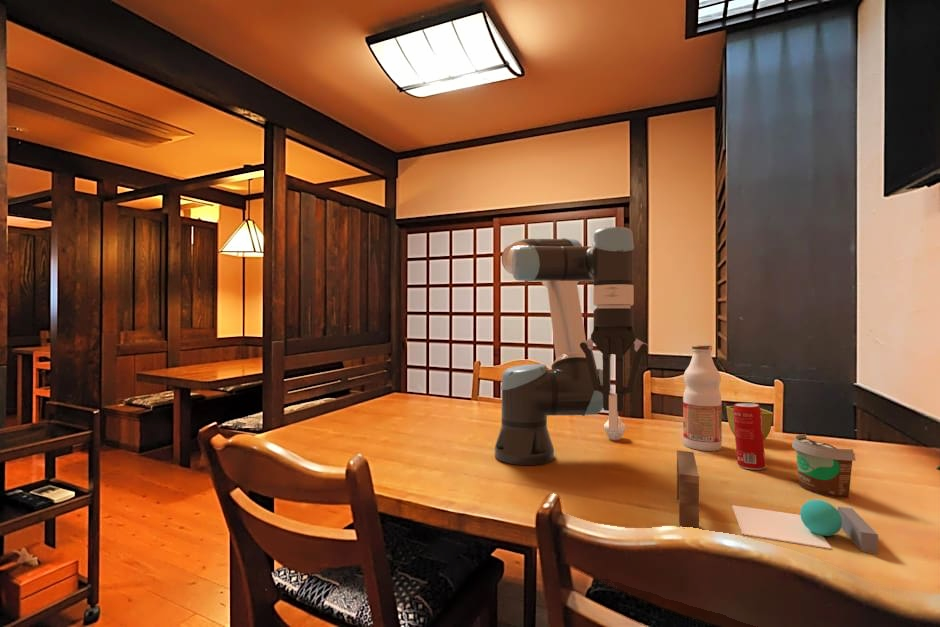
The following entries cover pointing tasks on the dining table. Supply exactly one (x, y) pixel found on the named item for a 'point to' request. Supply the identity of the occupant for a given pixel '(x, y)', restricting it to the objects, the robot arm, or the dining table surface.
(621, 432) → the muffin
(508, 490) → the dining table surface
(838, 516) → the ball
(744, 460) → the beverage can
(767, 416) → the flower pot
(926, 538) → the dining table surface
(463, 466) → the dining table surface
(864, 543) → the wall
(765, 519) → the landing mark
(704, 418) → the fruit juice
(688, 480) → the grey brown rectangular block
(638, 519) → the dining table surface
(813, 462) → the food container
